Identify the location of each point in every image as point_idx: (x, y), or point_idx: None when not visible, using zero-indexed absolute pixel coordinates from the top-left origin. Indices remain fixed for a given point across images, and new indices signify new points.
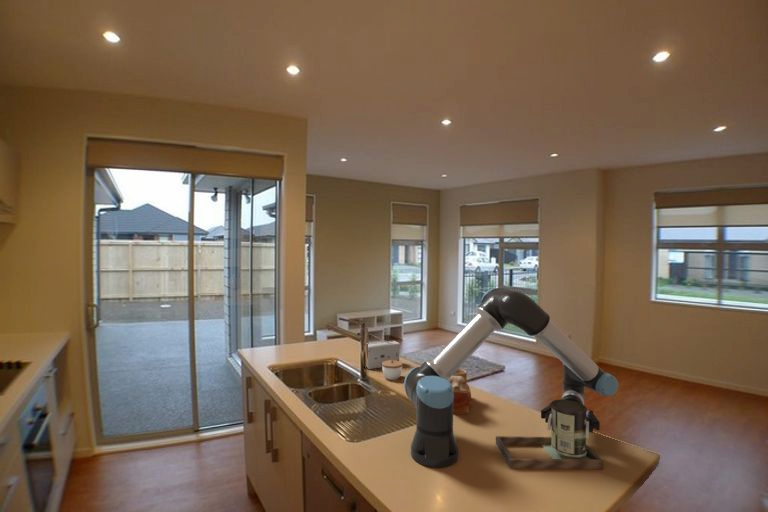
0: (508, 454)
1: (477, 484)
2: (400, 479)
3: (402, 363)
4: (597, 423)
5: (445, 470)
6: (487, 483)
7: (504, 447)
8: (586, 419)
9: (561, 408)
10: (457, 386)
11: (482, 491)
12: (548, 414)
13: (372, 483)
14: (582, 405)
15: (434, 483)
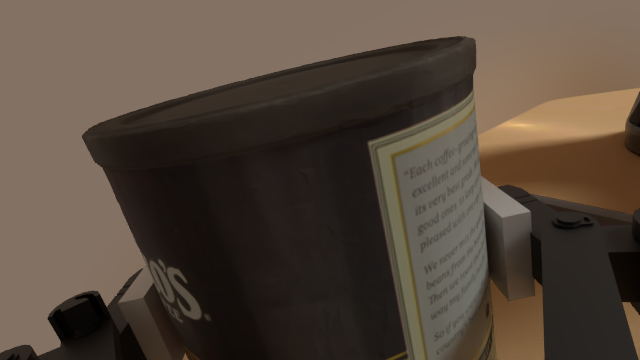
0: (547, 200)
1: (509, 157)
2: (618, 106)
3: None
4: (27, 350)
5: (609, 140)
6: (497, 167)
7: (612, 214)
8: (115, 354)
9: (335, 64)
10: None
11: (482, 156)
12: (551, 224)
13: (627, 91)
14: (110, 126)
15: (567, 126)
